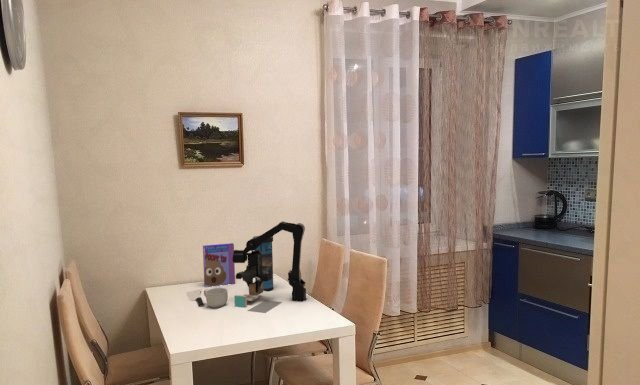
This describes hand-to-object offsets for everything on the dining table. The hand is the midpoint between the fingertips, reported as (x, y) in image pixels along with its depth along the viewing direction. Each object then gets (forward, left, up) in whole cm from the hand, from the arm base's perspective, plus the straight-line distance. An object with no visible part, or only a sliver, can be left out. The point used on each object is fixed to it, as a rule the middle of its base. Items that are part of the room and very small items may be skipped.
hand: (254, 292), depth 231 cm
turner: (0, +1, -1) cm, 2 cm away
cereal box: (+37, -21, -4) cm, 42 cm away
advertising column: (+6, -20, -4) cm, 21 cm away
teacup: (+15, +14, -4) cm, 21 cm away
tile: (0, +13, -4) cm, 14 cm away
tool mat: (-11, +9, -4) cm, 15 cm away
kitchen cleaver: (+32, +8, -5) cm, 33 cm away
